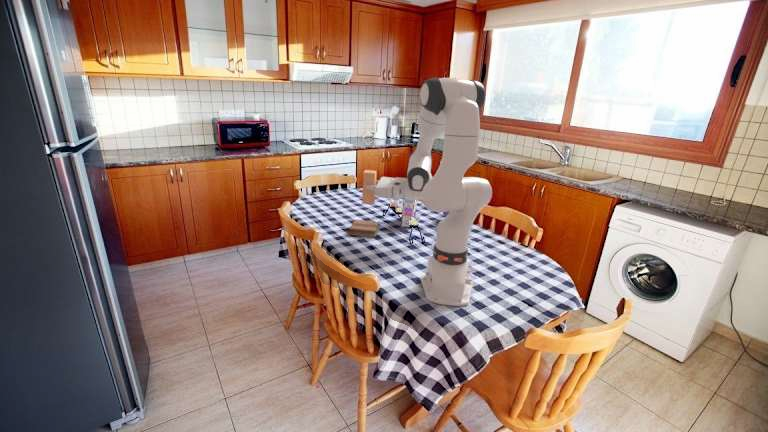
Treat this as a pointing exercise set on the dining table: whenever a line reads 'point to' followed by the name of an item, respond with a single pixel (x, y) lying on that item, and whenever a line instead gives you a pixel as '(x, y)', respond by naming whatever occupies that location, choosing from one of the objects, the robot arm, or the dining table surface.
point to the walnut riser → (364, 228)
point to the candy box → (408, 211)
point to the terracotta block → (368, 194)
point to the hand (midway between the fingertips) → (367, 184)
